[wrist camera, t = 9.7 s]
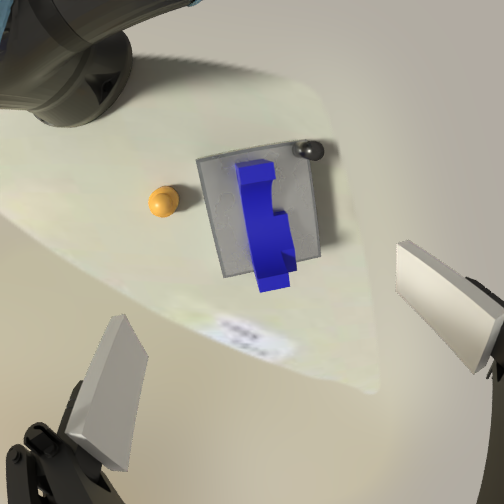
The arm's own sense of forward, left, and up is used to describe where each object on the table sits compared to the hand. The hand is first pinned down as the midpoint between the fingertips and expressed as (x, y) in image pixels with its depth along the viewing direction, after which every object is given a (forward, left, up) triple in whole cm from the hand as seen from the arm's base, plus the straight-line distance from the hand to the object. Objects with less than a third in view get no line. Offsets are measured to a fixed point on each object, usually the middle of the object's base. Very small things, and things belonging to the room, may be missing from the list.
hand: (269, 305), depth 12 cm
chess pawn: (-2, -8, -23) cm, 25 cm away
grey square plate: (+1, +3, -23) cm, 23 cm away
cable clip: (+1, +3, -20) cm, 20 cm away
